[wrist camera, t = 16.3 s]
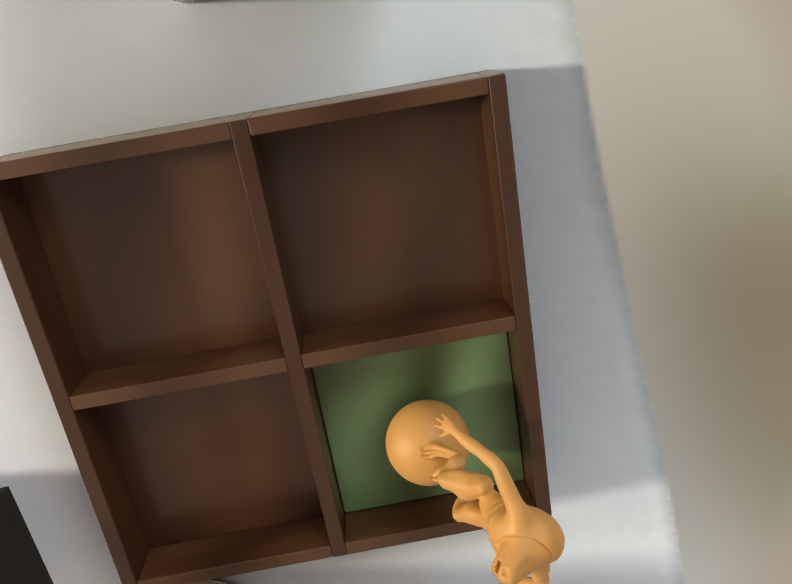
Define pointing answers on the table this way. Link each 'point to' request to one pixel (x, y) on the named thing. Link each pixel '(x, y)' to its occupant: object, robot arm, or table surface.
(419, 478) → the figurine
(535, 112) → the table surface
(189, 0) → the icon cube
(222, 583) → the travel mug
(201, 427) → the grid
